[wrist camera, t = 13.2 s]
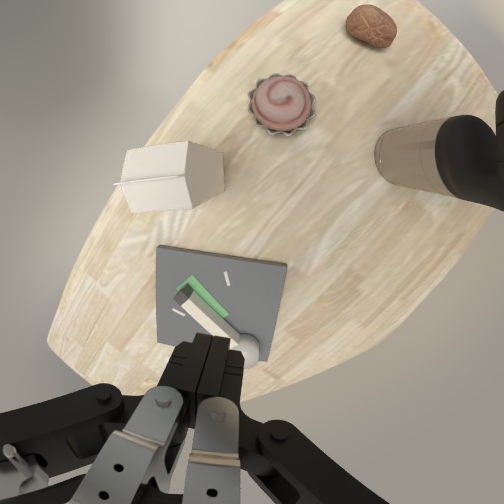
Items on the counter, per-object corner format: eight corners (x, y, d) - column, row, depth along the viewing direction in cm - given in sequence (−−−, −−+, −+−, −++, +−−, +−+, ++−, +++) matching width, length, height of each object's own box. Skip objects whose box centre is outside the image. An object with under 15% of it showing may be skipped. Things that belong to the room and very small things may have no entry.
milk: (225, 190, 41) (183, 217, 20) (186, 193, 41) (115, 222, 20) (222, 151, 39) (177, 136, 18) (184, 154, 40) (108, 149, 19)
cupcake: (256, 145, 39) (253, 138, 29) (243, 89, 36) (236, 67, 27) (317, 135, 38) (332, 125, 28) (303, 79, 35) (313, 55, 26)
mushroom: (389, 47, 32) (409, 30, 24) (367, 61, 33) (385, 44, 26) (359, 17, 30) (373, -5, 23) (336, 29, 32) (347, 7, 24)
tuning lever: (265, 346, 47) (264, 359, 43) (244, 360, 48) (242, 372, 44) (192, 277, 43) (186, 287, 40) (173, 295, 45) (166, 305, 41)
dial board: (286, 263, 44) (286, 267, 42) (267, 356, 50) (267, 362, 48) (159, 245, 44) (155, 247, 43) (160, 338, 50) (157, 342, 48)
